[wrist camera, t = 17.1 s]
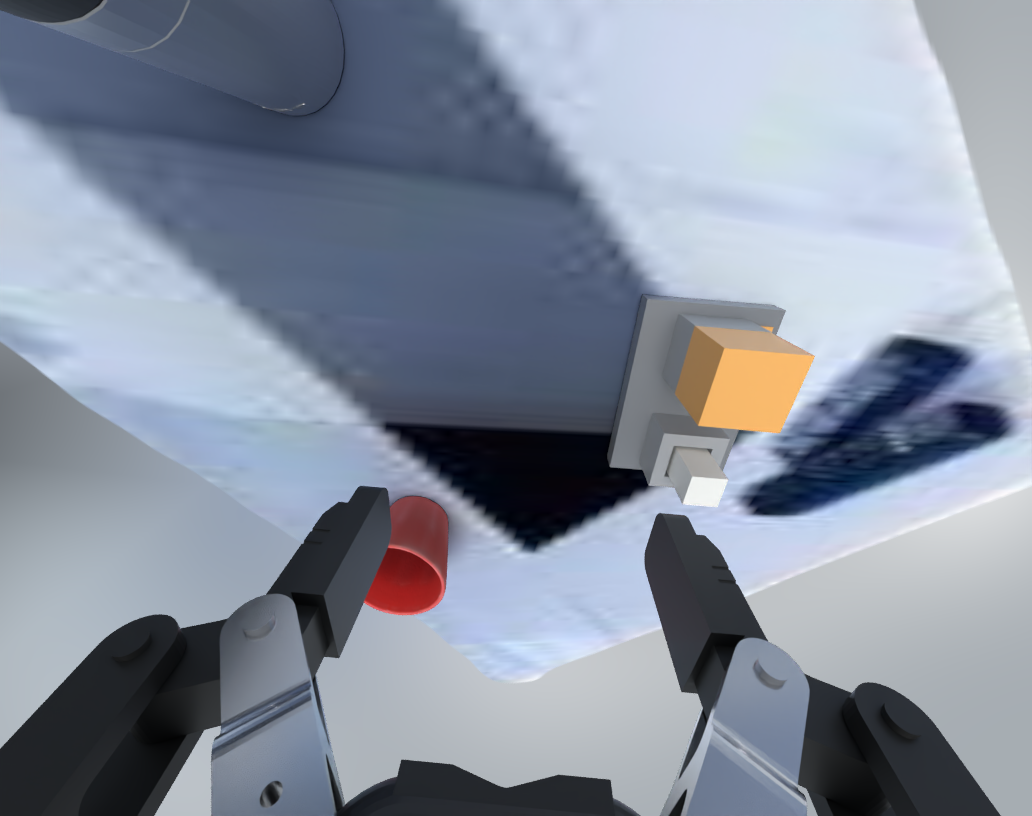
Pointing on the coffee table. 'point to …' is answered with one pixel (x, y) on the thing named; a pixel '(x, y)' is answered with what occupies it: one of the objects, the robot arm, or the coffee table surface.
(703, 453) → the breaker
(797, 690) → the robot arm
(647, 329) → the breaker panel
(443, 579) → the flower pot
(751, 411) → the orange wooden cube
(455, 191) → the coffee table surface
